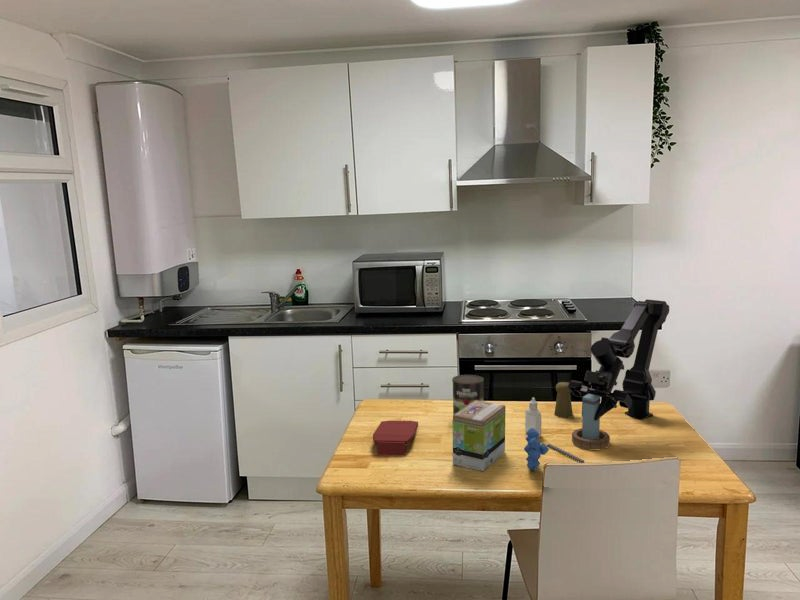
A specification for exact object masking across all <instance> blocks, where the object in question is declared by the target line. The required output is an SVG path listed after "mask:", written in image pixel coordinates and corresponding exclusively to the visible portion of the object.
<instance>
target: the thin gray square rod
mask: <svg viewBox="0 0 800 600" xmlns="http://www.w3.org/2000/svg"><path fill="white" fill-rule="evenodd" d="M546 446H547V447H548V449H552V450H553V451H555V450H556V452H557V451H558V452H557V453H559V452H560V454H561V453H562V454H561V455H564V456H566V455H567V456H566V457H568V456H569V457H568V458H570V457H571V458H570V459H572V458H573V459H572V460H574V459H575V460H574V461H576V460H577V461H576V462H578V461H579V462H578V463H580V462H584V463H585V460H584V459H582V458H580V457H578V456H576V455H573V454H572V453H570V452H567V451H565V450H564V449H562V448H559V447H557V446H555V445H553V444H551V443H547V444H546Z"/></svg>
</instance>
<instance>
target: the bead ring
mask: <svg viewBox="0 0 800 600" xmlns="http://www.w3.org/2000/svg"><path fill="white" fill-rule="evenodd" d="M610 439H611V438H610V434H609V433H608V432H606V431H604V430H601V429H599V439H597V440H587V439H583V438H582V428H578V429H574V430H573V432H571V442H572V444H573V445H574V446H575V445H576V447H577V446H578V448H580V449H583V448H584V449H583V450H588V449H601V450H603V449H602V448H604V449H607V448H608V447H609V446H610V442H611V441H610ZM608 445H609V446H608ZM606 447H607V448H606Z"/></svg>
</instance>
